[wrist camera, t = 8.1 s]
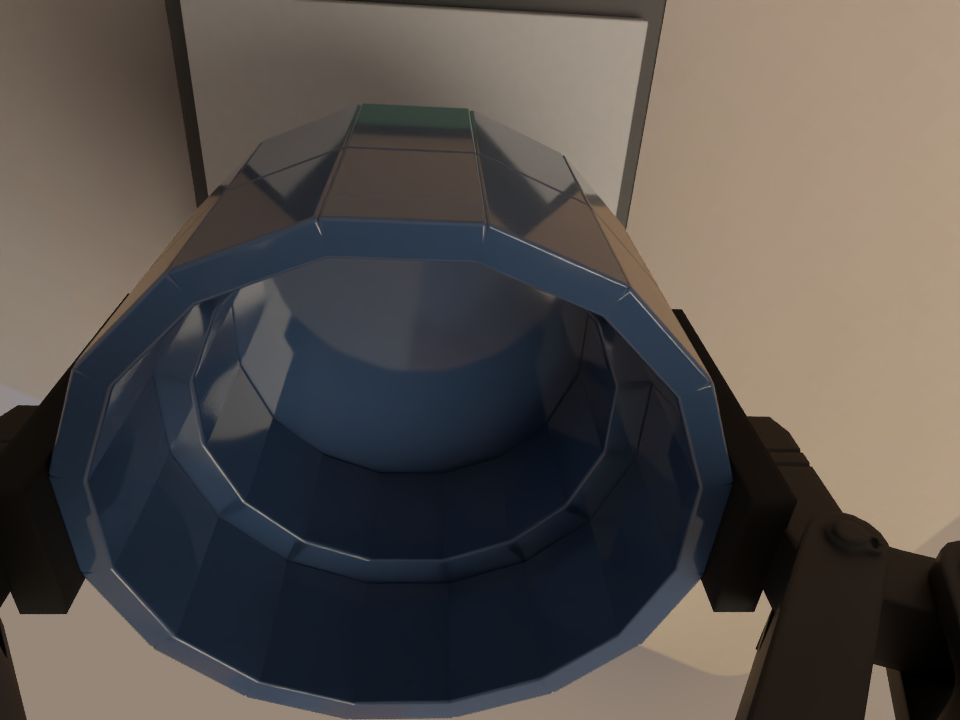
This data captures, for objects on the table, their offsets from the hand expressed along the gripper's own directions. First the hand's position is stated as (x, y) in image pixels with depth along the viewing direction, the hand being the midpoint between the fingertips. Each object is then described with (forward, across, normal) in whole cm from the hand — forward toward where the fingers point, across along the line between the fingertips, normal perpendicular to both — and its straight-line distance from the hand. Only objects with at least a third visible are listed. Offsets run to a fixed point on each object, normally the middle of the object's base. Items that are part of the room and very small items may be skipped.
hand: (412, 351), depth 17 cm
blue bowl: (+1, 0, 0) cm, 1 cm away
